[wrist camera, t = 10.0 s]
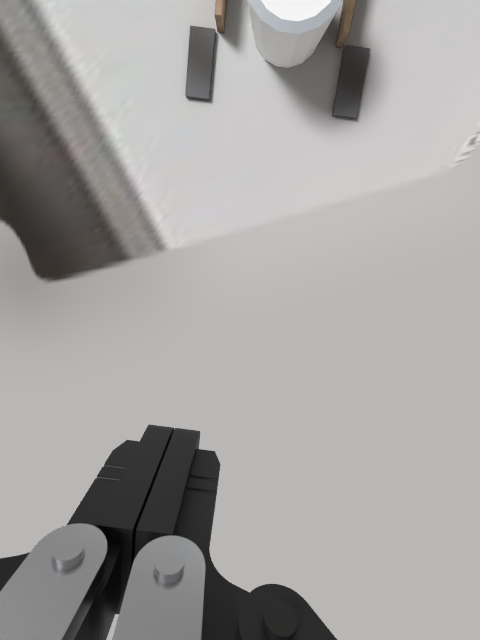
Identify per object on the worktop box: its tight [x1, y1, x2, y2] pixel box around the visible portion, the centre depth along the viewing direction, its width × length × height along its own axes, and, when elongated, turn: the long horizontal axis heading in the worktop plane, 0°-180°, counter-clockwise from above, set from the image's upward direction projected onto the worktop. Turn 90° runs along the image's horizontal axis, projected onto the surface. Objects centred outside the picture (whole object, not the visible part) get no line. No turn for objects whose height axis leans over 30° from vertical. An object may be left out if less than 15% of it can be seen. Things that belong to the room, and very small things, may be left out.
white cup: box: [247, 0, 343, 68], centre depth 25 cm, size 7×7×7 cm
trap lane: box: [185, 0, 370, 119], centre depth 27 cm, size 12×15×2 cm
